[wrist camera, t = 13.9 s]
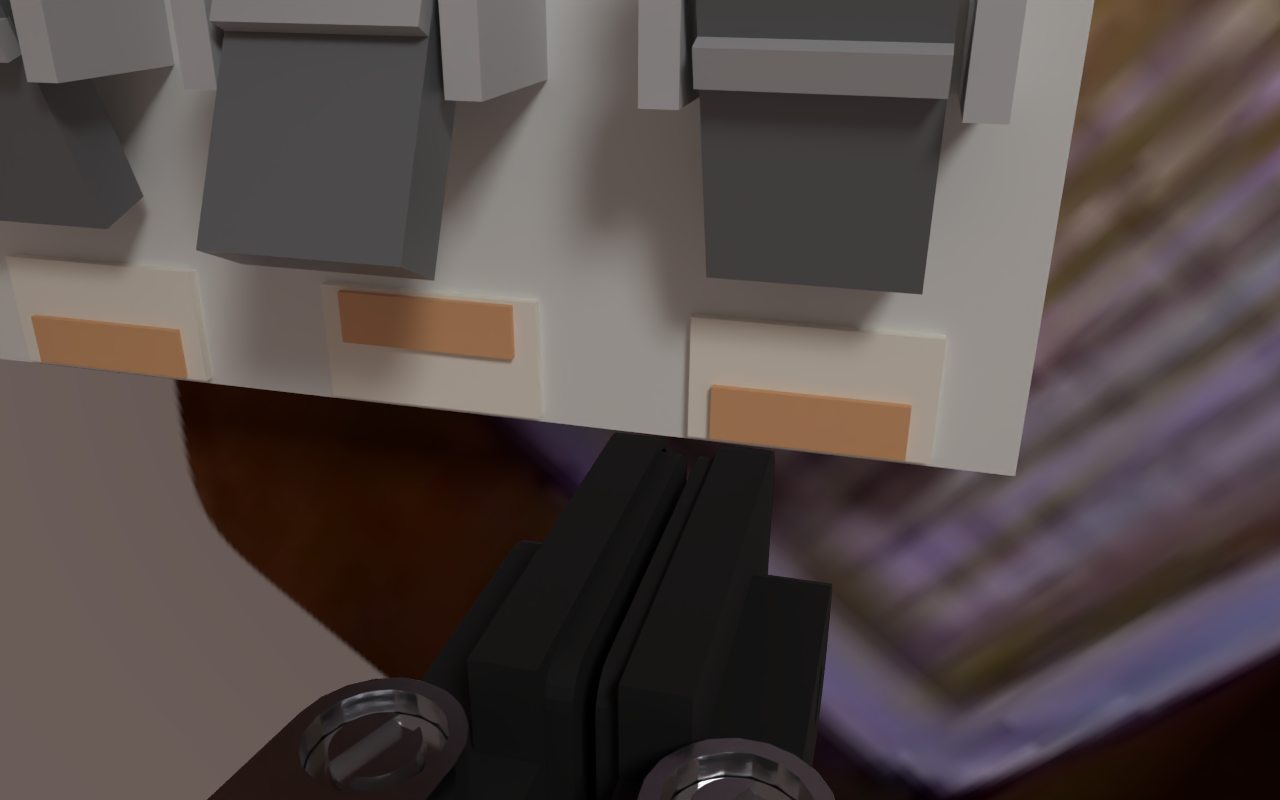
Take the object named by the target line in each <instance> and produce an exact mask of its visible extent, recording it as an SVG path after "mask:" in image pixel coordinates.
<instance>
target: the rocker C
mask: <svg viewBox="0 0 1280 800" xmlns="http://www.w3.org/2000/svg"><path fill="white" fill-rule="evenodd" d="M959 3H960V0H696V14H697V38H696V40H695V42H694V44H693V46H692V63H693V88H694V89H699V95H700V121H701V148H702V175H703V202H704V229H705V256H706V277H708V278H720V279H733V280H745V281H758V282H770V283H783V284H796V285H808V286H821V287H833V288H846V289H858V290H871V291H883V292H896V293H908V294H921V295H922V293H923V285H924V277H925V269H926V261H927V254H928V246H929V238H930V230H931V222H932V214H933V207H934V199H935V191H936V183H937V175H938V167H939V160H940V152H941V144H942V136H943V128H944V120H945V112H946V105H947V99H948V95H949V88H950V80H951V72H952V64H953V56H954V42H955V34H956V26H957V18H958V11H959Z"/></svg>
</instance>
